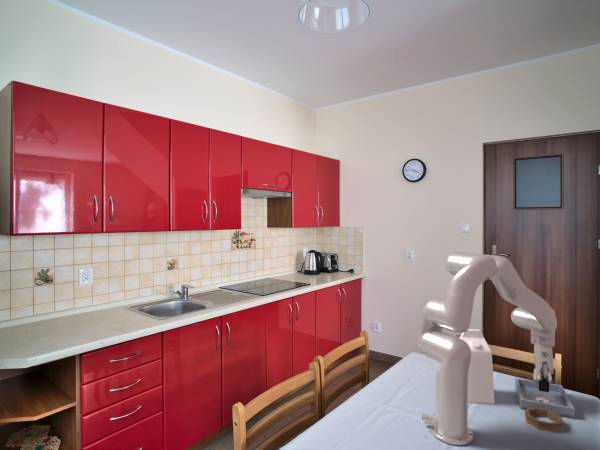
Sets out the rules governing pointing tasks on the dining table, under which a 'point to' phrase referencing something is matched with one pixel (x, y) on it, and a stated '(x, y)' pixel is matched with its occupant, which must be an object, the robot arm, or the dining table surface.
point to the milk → (479, 368)
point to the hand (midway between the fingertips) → (542, 386)
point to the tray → (556, 397)
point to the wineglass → (536, 379)
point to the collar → (543, 425)
